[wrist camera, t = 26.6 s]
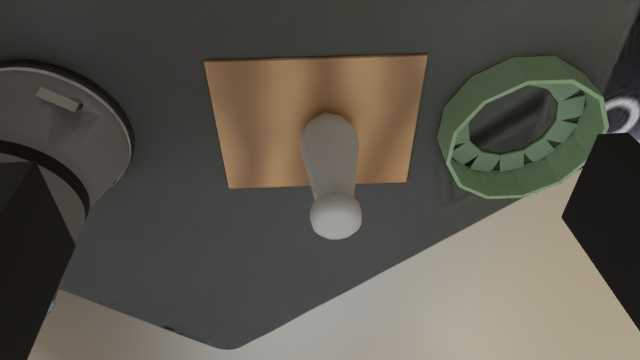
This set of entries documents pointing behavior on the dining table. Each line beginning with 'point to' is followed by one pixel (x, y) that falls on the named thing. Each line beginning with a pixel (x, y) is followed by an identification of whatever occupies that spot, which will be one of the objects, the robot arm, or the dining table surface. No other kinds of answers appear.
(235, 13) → the dining table surface
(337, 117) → the salt shaker
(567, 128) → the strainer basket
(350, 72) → the wooden board
